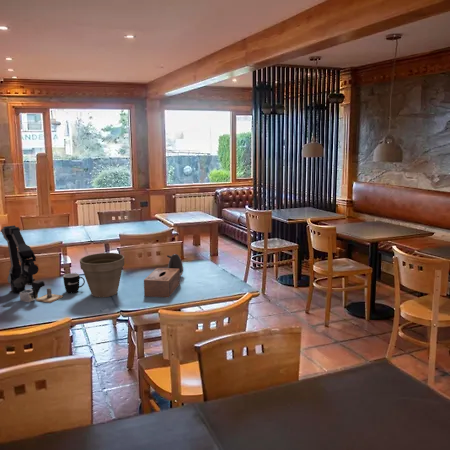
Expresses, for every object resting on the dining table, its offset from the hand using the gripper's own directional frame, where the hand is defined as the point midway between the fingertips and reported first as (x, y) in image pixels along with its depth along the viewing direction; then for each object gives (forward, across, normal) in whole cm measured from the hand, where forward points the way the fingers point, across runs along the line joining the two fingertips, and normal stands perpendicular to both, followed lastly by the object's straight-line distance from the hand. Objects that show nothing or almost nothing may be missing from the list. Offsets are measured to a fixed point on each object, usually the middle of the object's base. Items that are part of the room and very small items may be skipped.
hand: (29, 297), depth 274 cm
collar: (+1, 0, 0) cm, 1 cm away
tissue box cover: (+2, +63, +41) cm, 75 cm away
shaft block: (+1, +10, +5) cm, 11 cm away
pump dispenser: (+1, +58, +68) cm, 89 cm away
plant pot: (+1, +34, +23) cm, 41 cm away
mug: (+1, +15, +21) cm, 26 cm away
